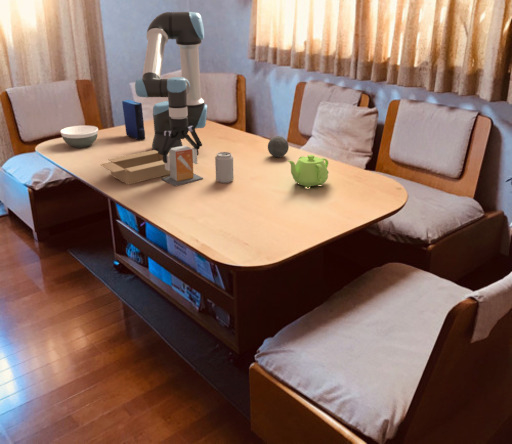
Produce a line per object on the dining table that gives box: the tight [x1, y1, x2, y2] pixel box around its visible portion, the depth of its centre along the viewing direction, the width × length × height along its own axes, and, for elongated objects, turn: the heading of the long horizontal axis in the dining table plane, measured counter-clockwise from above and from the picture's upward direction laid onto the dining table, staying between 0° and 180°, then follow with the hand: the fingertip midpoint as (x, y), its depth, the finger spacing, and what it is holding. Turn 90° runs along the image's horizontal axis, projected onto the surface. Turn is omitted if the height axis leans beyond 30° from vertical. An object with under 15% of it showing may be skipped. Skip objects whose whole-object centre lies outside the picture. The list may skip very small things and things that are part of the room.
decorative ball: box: [267, 135, 289, 158], centre depth 255 cm, size 10×10×10 cm
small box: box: [169, 145, 194, 181], centre depth 225 cm, size 8×6×13 cm
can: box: [214, 151, 235, 184], centre depth 224 cm, size 8×8×12 cm
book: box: [121, 99, 146, 141], centre depth 284 cm, size 14×5×20 cm, turn 42°
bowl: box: [59, 125, 99, 149], centre depth 273 cm, size 19×19×8 cm
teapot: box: [288, 154, 329, 188], centre depth 219 cm, size 16×14×13 cm
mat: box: [160, 172, 204, 187], centre depth 228 cm, size 14×11×1 cm
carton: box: [99, 149, 171, 185], centre depth 233 cm, size 34×21×6 cm, turn 129°
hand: (181, 166), depth 226 cm, fingers open, 13 cm apart
